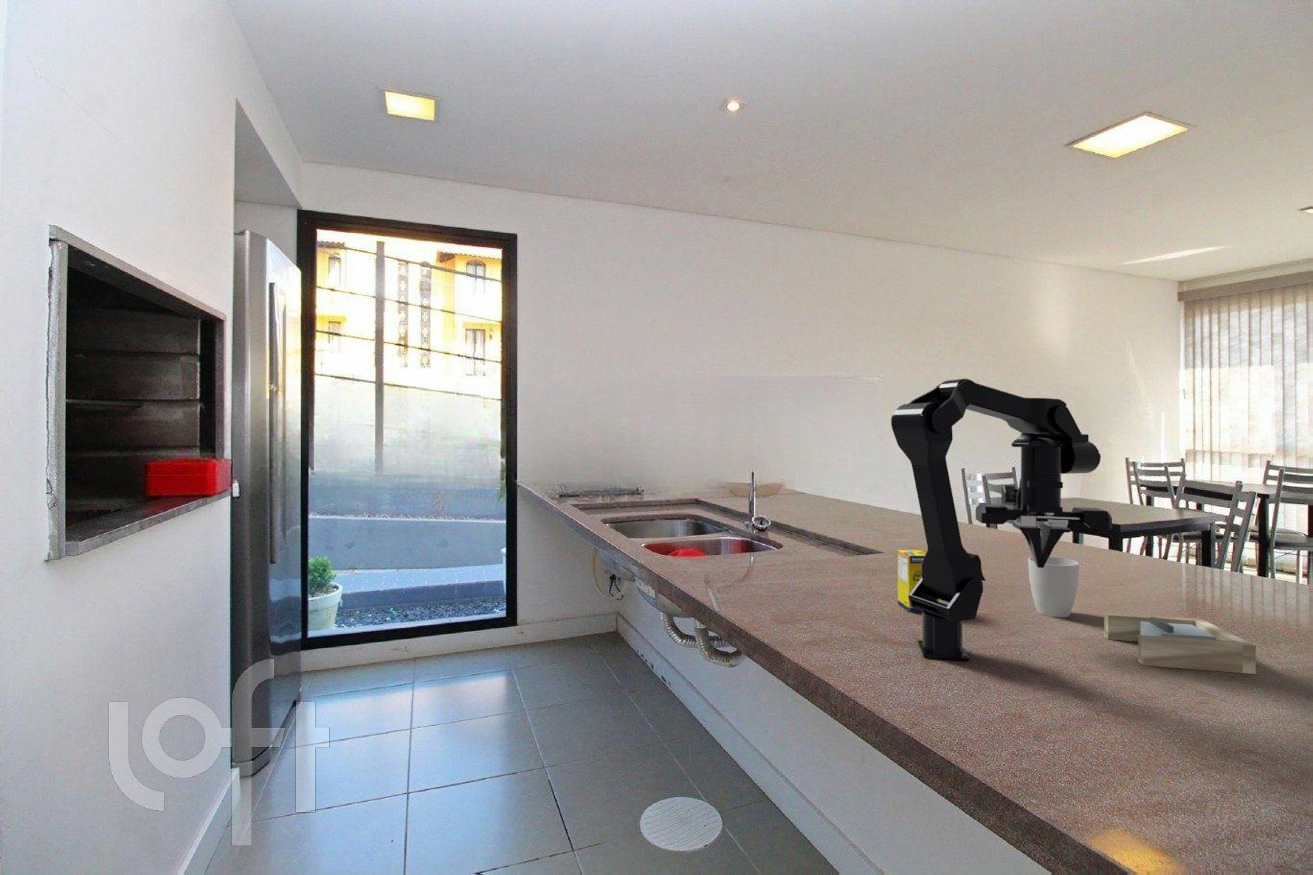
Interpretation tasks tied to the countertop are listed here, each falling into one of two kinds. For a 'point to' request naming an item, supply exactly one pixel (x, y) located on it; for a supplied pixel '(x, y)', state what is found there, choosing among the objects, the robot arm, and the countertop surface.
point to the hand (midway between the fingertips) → (1039, 567)
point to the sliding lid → (1172, 630)
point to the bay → (1184, 645)
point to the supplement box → (909, 575)
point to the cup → (1054, 586)
